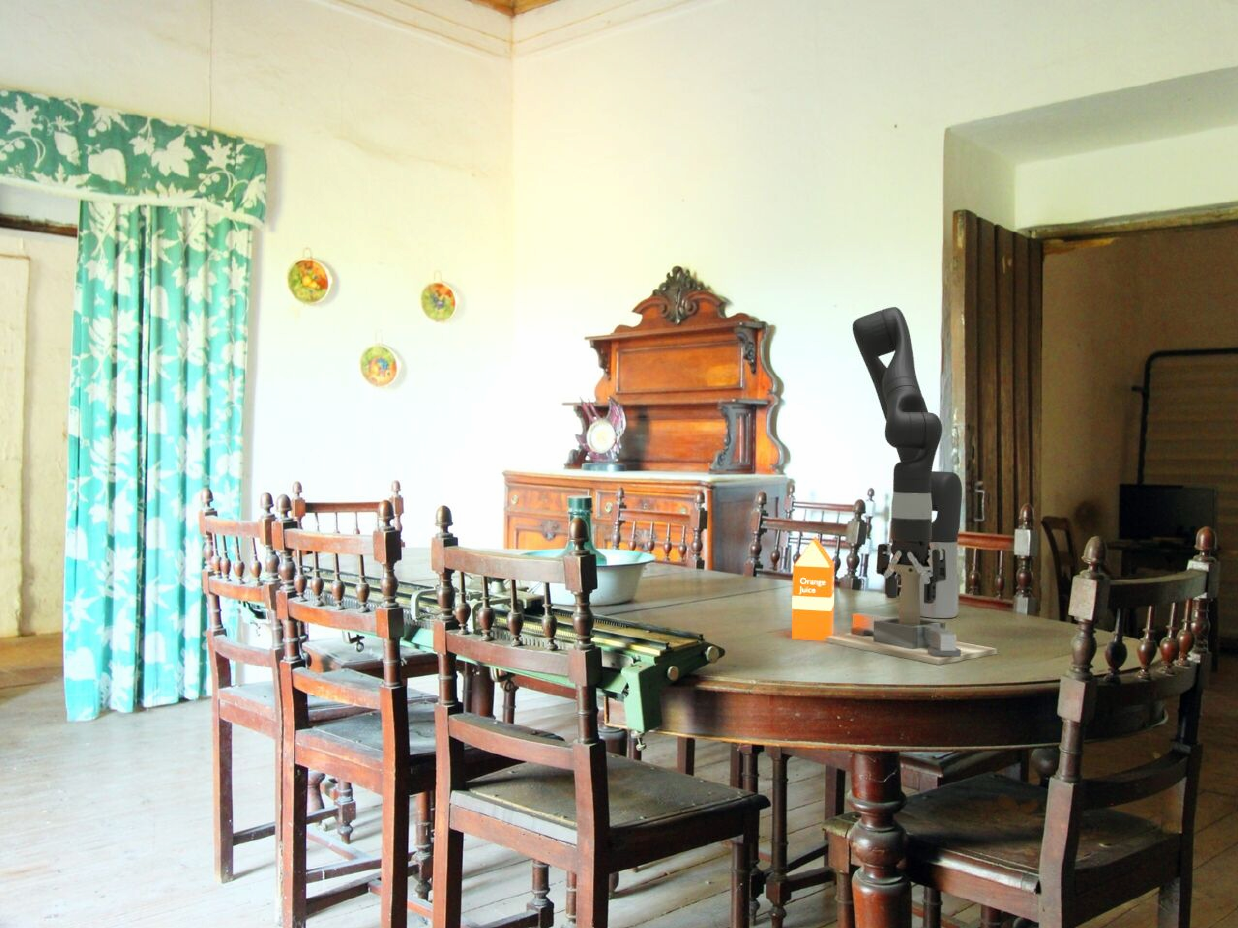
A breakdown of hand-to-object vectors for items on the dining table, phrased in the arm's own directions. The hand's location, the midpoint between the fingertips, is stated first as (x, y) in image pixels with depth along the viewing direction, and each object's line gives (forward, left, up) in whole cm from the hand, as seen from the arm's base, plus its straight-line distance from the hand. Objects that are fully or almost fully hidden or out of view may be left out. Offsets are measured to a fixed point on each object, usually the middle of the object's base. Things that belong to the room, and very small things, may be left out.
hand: (909, 600), depth 198 cm
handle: (0, 0, -8) cm, 8 cm away
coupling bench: (0, 0, -9) cm, 9 cm away
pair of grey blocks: (+3, +1, -8) cm, 8 cm away
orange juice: (+6, -19, -9) cm, 22 cm away
